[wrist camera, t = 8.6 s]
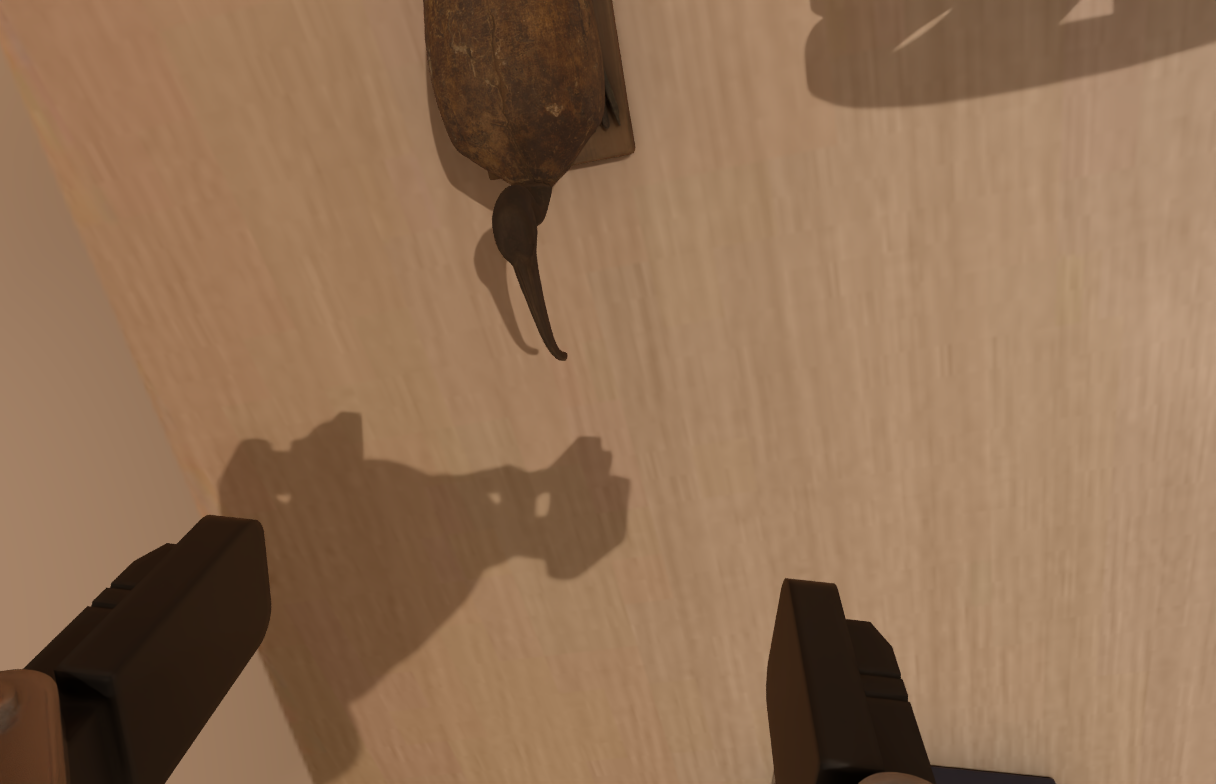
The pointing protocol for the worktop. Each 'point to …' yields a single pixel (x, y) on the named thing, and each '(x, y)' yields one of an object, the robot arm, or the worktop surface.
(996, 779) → the plate
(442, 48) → the figurine
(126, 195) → the worktop surface
